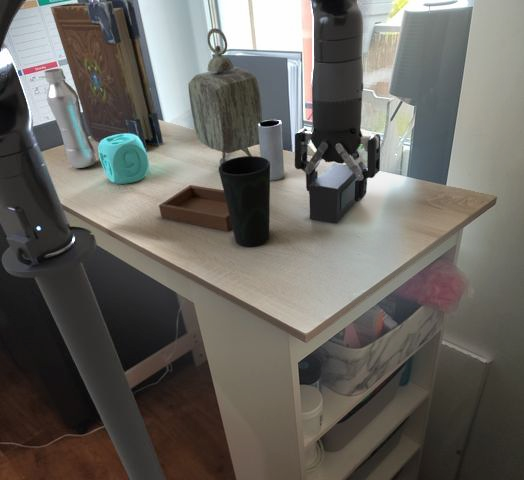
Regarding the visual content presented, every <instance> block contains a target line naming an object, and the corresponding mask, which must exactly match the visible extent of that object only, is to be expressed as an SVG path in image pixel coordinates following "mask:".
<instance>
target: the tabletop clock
mask: <svg viewBox="0 0 524 480" xmlns="http://www.w3.org/2000/svg"><path fill="white" fill-rule="evenodd" d="M215 33H216V34H218V35H219V36H220V37H221V39H222V40H223V42H224V48H223V49H221V48H222V47H221V45H216V46H215V47H213V46H212V44H211V36H212V34H215ZM207 44H208V47H209V49H210V51H211V52H212V53H213V54H215V56H214V57H212V58H211V59H210V60H209V62H208V64H207V68H206V69H207V71H206V72H202V73H197V74H195V76H193V78H192V79H191V80H190V81H189V82H188V97H189V103H190V110H191V116H192V121H193V125H194V130H195V134H196V138H197V139H198V141H199V142H200V143H201V144H202V145H204V146H206V147H208V148H209V149H212V150H215V151H217V152H221V153H222V154H221V155H222V157H221V158H220V159H219V164H220V165H221V164H222V163H224V162H225V161H227V158H226V154H227V155H231V154H232V153H235V152H238V151H242V152H243V153H245V154H246V156H253V155H252V154H251V152H250V150H249V148H251V147H254V146H257V145H260V144H259V132H258V124H259V123H260V122H262V121H263V111H262V110H263V109H262V102H261V93H260V87H259V83H258V80H257V76H255V74H253V73H252V72H251V71H249V70H247V69H244V68H242V67H237V66H234V64H233V63H232V61H231V59H230V58H228V57H227V56H225V55H224V54H226V53H227V50H228V40H227V37H226V36H225V33H224V32H223V31H222V30H221V29H220V28H217V27H216V28H215V27H213V28H211V29H210V30H209V31H208V32H207Z"/></svg>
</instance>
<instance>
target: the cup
mask: <svg viewBox="0 0 524 480" xmlns="http://www.w3.org/2000/svg"><path fill="white" fill-rule="evenodd" d="M226 160H227V159H226ZM218 172H219V177H220V182H221V186H222V190H224V194H225V199H226V203H227V207H228V211H229V215H230V219H231V224H232V228H231V229H232V231H233V236H234V240H235V243H236V244H237V245H239V246H241V247H244V248H255V247H259V246H262V245H264V244H266V243H267V242H268V241H269V239H270V214H271V213H270V211H271V210H270V208H271V207H270V205H271V180H270V162H269V161H268V160H267V159H265V158H262V157H261V156H256V155H252V156H248V155H245V156H244V155H243V156H238V157H234V158H230V159H228V160H227V161H225V162H224V163H222V164H220V165H219V166H218Z"/></svg>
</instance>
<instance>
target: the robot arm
mask: <svg viewBox="0 0 524 480" xmlns="http://www.w3.org/2000/svg"><path fill="white" fill-rule="evenodd" d="M26 1H27V0H0V225H1V226H2V229H3V231H4V233H5V235H6V237H5V238H6V241H7V243H8V245H9V247H11V249H12V251H13V253H14V254H15V255H16V257H17V259H18V260H19V262H21V263H23V264H26V265H28V266H30V265H31V263H32V262H31V261H33V262H37V263H41V262H43V261H45V260H48V259H52V258H55V257H58V256H60V255H62V254H64V253H66V252H68V251H69V250H71V249H72V248H73V247H74V245H75V243H76V240H75V237H74V235H73V233H72V231H71V230H72V229H71V228H70V226H71V224H70V222H69V221H68V218H67V216H66V213H65V210H64V207H63V205H62V202H61V199H60V198H59V194H58V193H57V189H56V187H55V184H54V182H53V178H52V177H51V174H50V171H49V169H48V166H47V164H46V161H45V158H44V155H43V154H42V153H43V152H42V151H41V148H40V145H39V142H38V140H37V137H36V135H35V132H34V127H33V126H34V122H33V115H32V111H31V106H30V105H29V102H28V99H27V96H26V92H25V89H24V86H23V83H22V80H21V77H20V75H19V72H18V70H17V69H18V68H17V66H16V63H15V61H14V59H13V56H12V54H11V52H10V50H9V48H8V47H7V45H6V44H5V40H6V37H7V34H8V32H9V30H10V27H11V25H12V23H13V21H14V19H15V17H16V15H17V14H18V12H19V10H20V9H21V8H22V6H24V4H25V3H26ZM309 1H310V7H311V14H312V70H311V117H312V119H311V121H312V131H308V129H307V128H305V127H304V128H301V129H300V130H298V131H297V132H296V133H295V134H294V168H296V170H302V171H303V172H304V173H305V186H306V187H305V189H306V192H309V185H310V184H311V183H312V182H313V181H314V180H316V179H317V178H318V177H319V175H318V174H319V173H318V172H319V171H318V170H317V168H318V166H320V164H321V162H322V161H324V162H325V163H332V162H334V163H335V164H343V165H344V163H345V165H347V166H348V168H349V169H350V170H352V171H353V173H354V175H355V176H356V178H357V179H356V180H355V198H354V201H356V203H359V202H361V201H362V200H363V198H365V196H366V194H367V191H368V190H367V188H368V179H373V178H374V177H376V175H377V174H378V173H379V172H380V170H381V166H380V165H381V136H380V134H379V133H375V134H373V135H363V133H362V130H361V125H362V109H363V108H362V107H363V91H364V69H363V68H364V67H363V44H364V42H363V41H364V17H363V13H362V11H361V9H360V7H359V5H358V0H309ZM310 143H312V145H313V146H314V148H315V150H316V151H315V152H314V153H313V155H312V156H311V158H310V160H309V159H308V153H309V152H308V148H309V146H308V145H310ZM361 145H362V147H363V149H364V151H365V152H367V159H366V160H367V161H366V163H365V161H364V157H363V156H362V154H361V153H360V151H359V148H360V146H361ZM29 260H30V261H29Z"/></svg>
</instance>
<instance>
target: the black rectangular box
mask: <svg viewBox="0 0 524 480" xmlns="http://www.w3.org/2000/svg"><path fill="white" fill-rule="evenodd" d="M356 179H357V178H356V176H355V175H354V173H353V171H352V170H350V169H349V168H348V166H347V165H346V164H344V163H343V164H341V163H332V164H331V165H330V166H329V167H328V168H327V169H325V171H324V172H323V173H321V174H320V175H318V178H317V179H316V180H314V181H313V182H312V183H311V184H310V185H309V191H308V194H309V195H308V196H309V198H308V199H309V220H312V221H319V222H325V223H330V224H336V225H337V224H338V223H339V222H340V221H341V220H342V219H343V218H344V216H345V215H346V214H347V213H348V212H349V211H350V210H351V209H352V208H353V207H354V206H355V205H356V203H357V202H356V201H354V198H355V180H356Z"/></svg>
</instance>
